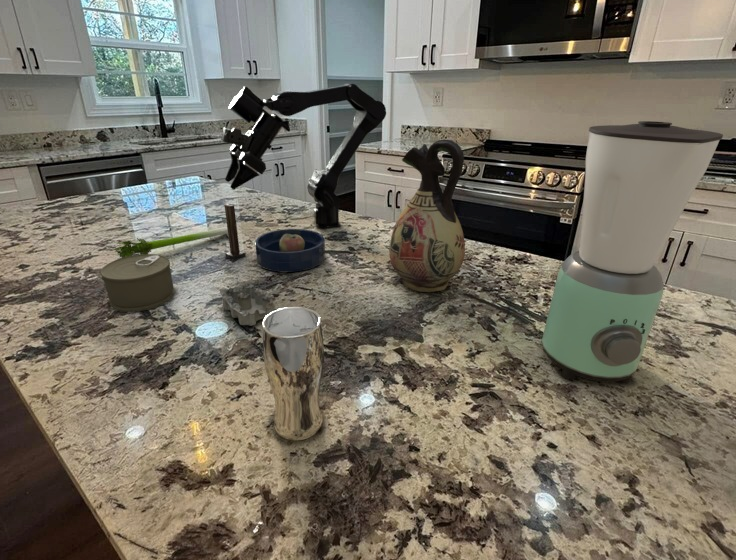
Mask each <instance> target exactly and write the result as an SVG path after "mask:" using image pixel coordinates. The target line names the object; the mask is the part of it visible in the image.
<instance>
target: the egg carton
mask: <svg viewBox="0 0 736 560" xmlns="http://www.w3.org/2000/svg"><path fill="white" fill-rule="evenodd" d="M219 293H220V296H221V298H222V305H223V309H224V311H230V315H231V317H232V318H233V319H234V318H238V324H239V325H240V326H250V327H252V326H256V324H257V323H256V322H258V321H260V320H264V318H265V317H266V316H267V315H268V314H269V313H271V312H273V311H275V303H274V302H276V301H277V299H276V297H275V295H273V294H271V293H269V292H267V291H264V290H263V289H260V288H258V287H255V285H253V284H251V283H249V284H248V285H247V286H245V285H244V284H241V285H240V286H234V287H229V288H225V289H224V288H220V289H219Z"/></svg>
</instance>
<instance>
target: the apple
mask: <svg viewBox="0 0 736 560" xmlns="http://www.w3.org/2000/svg"><path fill="white" fill-rule="evenodd" d="M279 245H280V250H281V252H295V251H302V250H304V246H305V242H304V240H303V239H302V237H301V236H299V235H297V234H294V235H290V234H284V235H283V236H282V238H281V239H280V243H279Z"/></svg>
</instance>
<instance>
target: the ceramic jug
mask: <svg viewBox="0 0 736 560" xmlns="http://www.w3.org/2000/svg"><path fill="white" fill-rule="evenodd" d="M440 152H445V153H448V154H449V156H450V157H451V159H452V160H451V161H452V167H451V170H450V173H449V176H448V179H447V182H446V185H445V187H444V189H442V187H441V184H440V177H443V176H445V174H446V168H445V166H444V164H443V163H442V162H441V160H440V158H439V155H438V154H439V153H440ZM401 161H402V162H403V163H404V164H406V165H408V166H410V167H412V168H414V169H415V170H416V171H418V172H419V174H420V177H421V181H420V184H419V188H418V189H416V192H415V193H414V195H413V196H412V197H411V198H410V200H409V201H408V202H407V204H406V205H405V207H404V208H403V210H402V212H401V213H400V215H399V216H398V218H397V220H396V222H395V224H394V227H393V229H392V233H391V236H390V241H389V246H388V247H389V248H388V255H389V260H390V263H391V266H392V268H393V269H394V271H395V272H396V273H397V274H398V275H399V277H400V278H401V279H402V283H403V285H404V286H405V287H406V288H408V289H410V290H412V291H416V292H420V293H434V292H440V291H444V290H445V289H447V286H448V284H449V281H450V280H451V279H452V278H454V276H456V275H457V274H458V273H459V271H460V270H461V268H462V266H463V263H464V262H465V261H464V260H465V257H466V242H465V235H464V232H463V228H462V225H461V222H460V220H459V218H458V216H457V214H456V212H455V207H454V202H453V200H452V199H453V195H454V193H455V190H456V187H457V185H458V182H459V180H460V178H461V176H462V172H463V170H464V169H463V167H464V163H465V155H464V151H463V149H462V148H461V146H460V145H459V144H458V143H457V142H455V141H453V140H451V139H439V140H436V141H434V142H433V143H432V144H431V145H430V146H429V148H428V146H427V144H425V143H424V144H422V146H421V147H420V148H417V147H412V148H411V149H409V150H408V151H407V152H406V153H405V155H404V156H403V157H402V159H401Z"/></svg>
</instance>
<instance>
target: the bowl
mask: <svg viewBox="0 0 736 560" xmlns="http://www.w3.org/2000/svg"><path fill="white" fill-rule="evenodd" d="M284 234H290V235H294V234H297V235H299V236H301V237H302V239H303V240H304V242H305V246H304V250H302V251H295V252H281V250H280V245H279V243H280V239H281V238H282V236H283V235H284ZM254 240H255V241H254V247H255V255H256V256H255V257H256V263H257V264H258V265H259V266H260V267H261V268H262V269H263V268H264V269H266V270H268V271H273V272H280V273H281V272H285V273H286V272H287V273H293V272H302V271H306V270H309V269H313V268H315V267H318V266H320V265H321V264H322V263H323V262H324V261H325V258H326V238H325V237H324V235H323V234H321V233H320V232H317V231H314V230H310V229H304V228H283V229H276V230H272V231H268V232H266V233H263V234H261V235H259V236H258V237H256V239H254Z"/></svg>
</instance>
